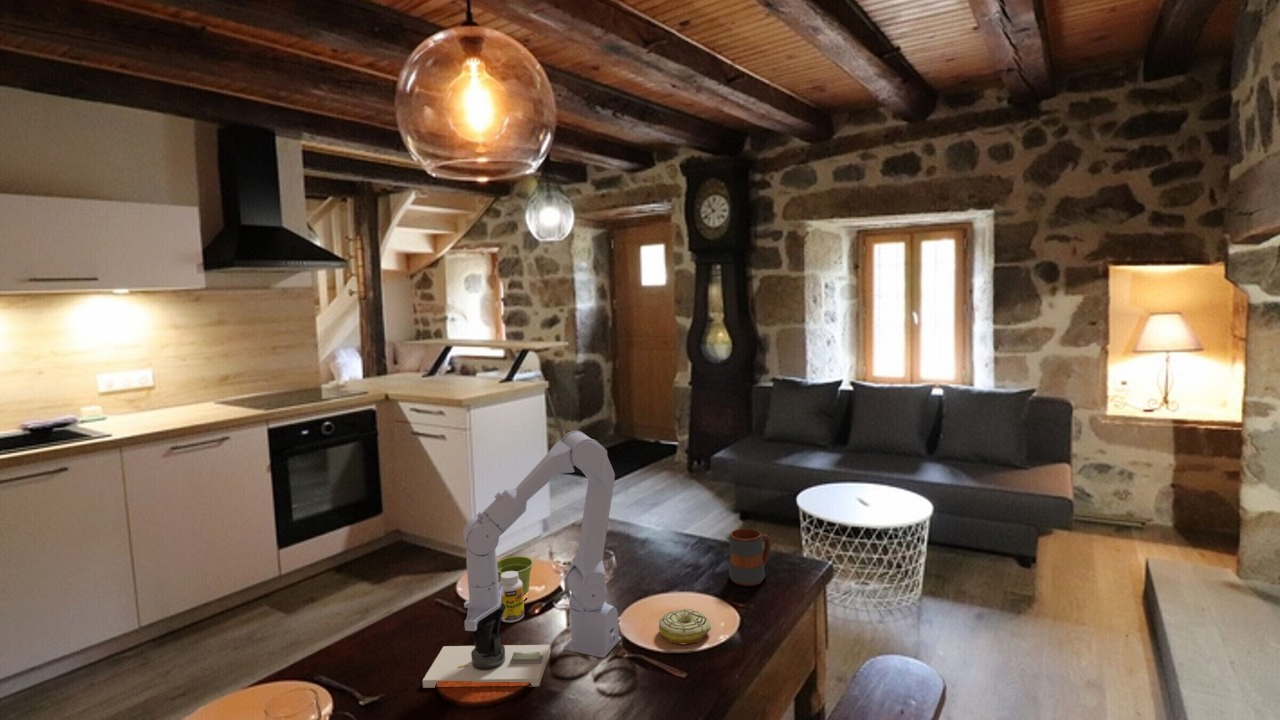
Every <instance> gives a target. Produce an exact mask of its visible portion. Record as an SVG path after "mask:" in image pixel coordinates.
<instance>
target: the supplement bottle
mask: <svg viewBox="0 0 1280 720" xmlns="http://www.w3.org/2000/svg"><path fill="white" fill-rule="evenodd" d="M499 586H503V591H504V596H503V597H501V603H503V604H505V605H506V608H505V610H504V613H503V615H502V619H501V622H504V623H515V622H518V621H520V620H522V619H523V618H524V617H525V604H524V602H525V601H524V600H523V583H522V581H521V580H519V575H518V572H516V571H507V572H504V573H502V574H501V582H500V583H499Z"/></svg>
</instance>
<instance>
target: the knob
mask: <svg viewBox="0 0 1280 720" xmlns="http://www.w3.org/2000/svg"><path fill="white" fill-rule="evenodd" d="M501 640H502V639H501V635H499V634H498V635H496V634H493V633H492V635H491V649H490V653H489V654H479V653H478V650H477V647H476V645H475V644H474V646H475V648H474V649H473V651H472V652H471V657H472V666H473V667H474V668H476V669H479V670H490V669H494V668H496V667H499V666H500V665H502V664H503V663H504V661H505V647H504V646H503V645H504V644H502V641H501Z"/></svg>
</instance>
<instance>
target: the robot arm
mask: <svg viewBox="0 0 1280 720" xmlns="http://www.w3.org/2000/svg"><path fill="white" fill-rule="evenodd" d="M574 467H576V468H577V469H579V470H580V471H581V472H582V473H583V474H584V475H585V477H586V478H587V488H586V495H585V502H584V509H583V514H582V520H581V522H582V523H581V528H580V535H579V542H578V547H577V548H578V549H577V554H576V555H575V556H574V557H573V558H572V560H571V561H572V562H571V565H570V567H569V569H568V570H567V573H566V576H565V579H564V580H565V582H564V583H565V586H566V589H568V590H569V592H570V598H569V601H568V603H569V620H570V621H569V622H570V639H569V641H568V642H566V644H565V645H563V647H562V649H563V650H565V651H569V652H574V653H578V654H583V655H588V656H592V657H597V658H600V659H601V658H602V659H604V658H605V657H606V656H607V655H608V654H609V653H610V651H612V649H614V647H615V646H616V645H617V644H618V643H619V641H621V639H622V637H621V636H620V635H619V633H620V631H619V613H618V609H617V608H616V606H613V605H610V604H609V603H608V602H606V601H607V598H608V588H607V585H606V577H607V576H606V575H607V574H606V569H605V565H604V561H603V560H604V553H605V545H606V540H607V532H608V525H609V519H610V514H611V513H610V512H611V506H612V500H613V498H612V497H613V492H614V485H615V479H616V478H615V477H616V474H615V472H614V469H613V466H612V464H611V462H610V460H609V457H608V450H607V449H606V448H605V447H604V446H603V445H602V444H600V443H599V441H597V440H596V439H592V438H590V436H588V435H586V434H585V433H584V432H582V431H580V430H572V431H569V432H567V433H566V434H565V435H564V436H563V437H562V438H561V440H558V441H557V442H556V443H554V445H553V446H552V447H551V449H550V450H549V451H548V453H546V455H545V456H544V457H543V458H542V459H541V460H540V461H539V463H538V464H537V465H535V467H534V468H533V469H531V471H530V472H529V473H528V474H527V476H526V477H525V478H524V479H523V480H521V482H520V483H519V484H518V485H517V486H516V487H515V488H510V489H505V490H503V491H502V493H501V492H497V493H496V494H495V495H494V498H495V499H494V501H492V503H490V504H489V505H488V506H487V508H485V509H483V511H482V512H481V511H479V512H478V513H477V514H476V517H475V518H471V519H470V520H469V521H467V523H466V524H465V525H464V527H463V528H464V529H463V531H462V533H461V536H462V539H463V541H464V542H465V544H466V547H465V548H466V552H465V553H466V554H465V555H466V563H465V564H466V574H467V587H468V588H467V590H468V598H469V599H467V600H465V602H464V603H463V606H464V608H467V613H466V614H467V615H466V619H465V620H464V631H467V632H469V633H470V635H471V637H472V639H473V642H474V646H475V645H476V647H477V650H478V653H479V654H489V653H490V649H491V635H492V633H493V634H496V635H499V633H500V626H501V622H502V620H501V619H502V615H503V613H504V610H505V608H506V605H505V604H503V603H501V597H503V596H504V591H503V586H499V582H498V568H497V561H498V556H497V555H496V554H497V553H496V549H497V547H498V545H499V541H500V540H499V539H500V537H501V536H502V535H503V534H504V533H506V531H507V530H508V529H510V527H511V526H512V525H514V524H515V522H516V521H517V520H518V519H519V518H520V517H521V516H523V514H524V513H525V512H526V511H527V505H528V501H529V500H530V499H531V498H532V497H534V496H535V495H536V494H537V493H538V492H539V491H540V490H542V488H544V486H546V485H547V484H548V483H549V482H550V481H551V480H552V479H553V478H555V476H556V475H558V474H559V475H560V474H571V473H575V469H574Z"/></svg>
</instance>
